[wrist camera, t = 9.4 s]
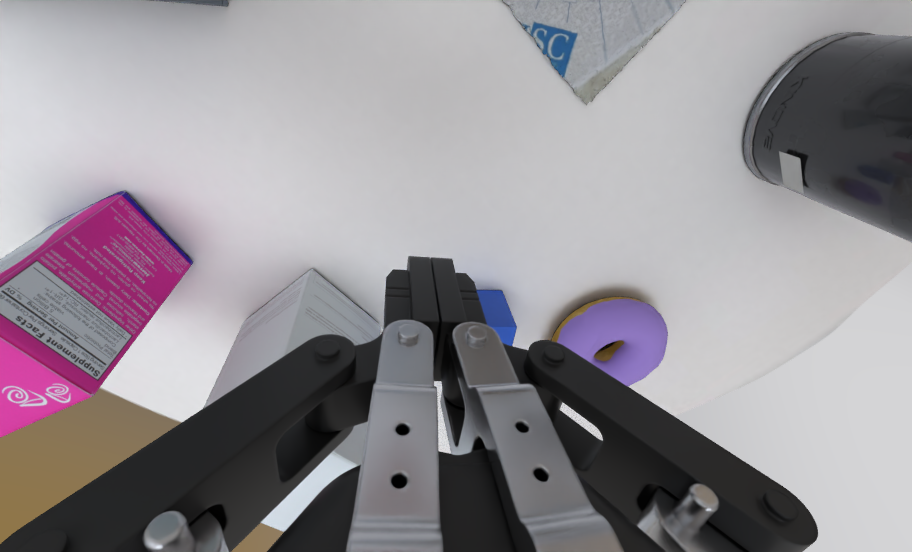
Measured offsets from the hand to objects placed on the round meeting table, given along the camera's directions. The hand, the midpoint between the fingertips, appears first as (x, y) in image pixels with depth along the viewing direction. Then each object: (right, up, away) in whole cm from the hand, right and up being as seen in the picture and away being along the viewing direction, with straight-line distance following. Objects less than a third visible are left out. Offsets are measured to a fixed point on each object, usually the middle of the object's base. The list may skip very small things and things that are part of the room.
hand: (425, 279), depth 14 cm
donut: (+13, -5, +21) cm, 26 cm away
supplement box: (-20, +2, +11) cm, 23 cm away
